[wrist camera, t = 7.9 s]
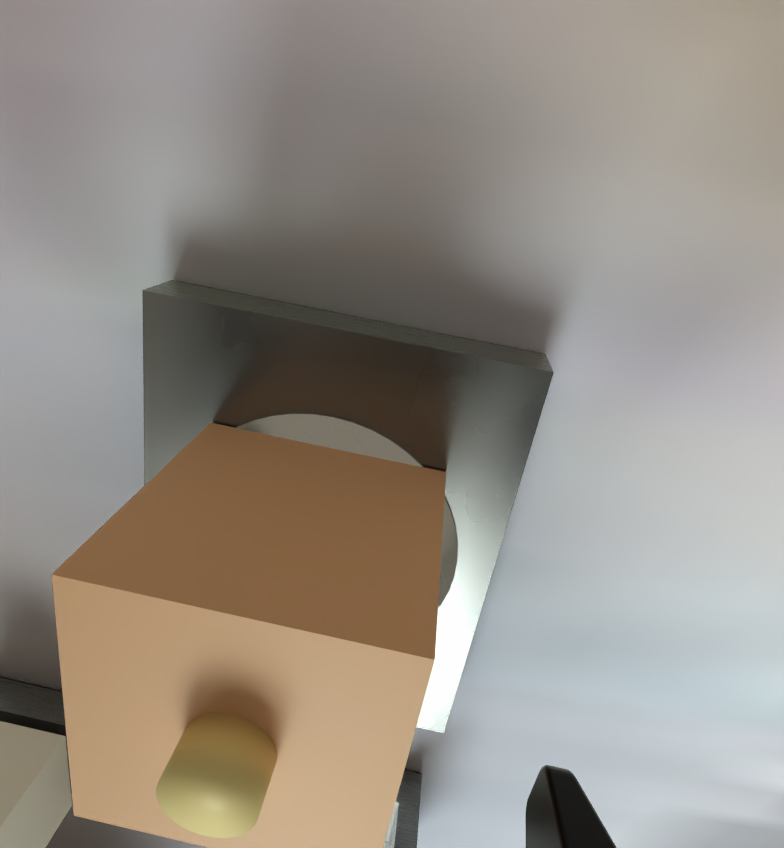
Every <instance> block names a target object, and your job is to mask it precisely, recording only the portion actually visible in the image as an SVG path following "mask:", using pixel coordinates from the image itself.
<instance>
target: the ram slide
mask: <svg viewBox="0 0 784 848" xmlns="http://www.w3.org/2000/svg"><path fill="white" fill-rule="evenodd" d="M71 806H72V799H71V789H70V779H69V768H68V758H67V748H66V737H65V736H63V735H58V734H54V733H50V732H45V731H41V730H37V729H32V728H28V727H24V726H20V725H15V724H11V723H7V722H2V721H0V848H46V846H47V845H48V843H49V841H50V840H51V838H52V837H53V835H54V833H55V832H56V830H57V829H58V827H59V825H60V824H61V822H62V821H63V819H64V817H65V816H66V814H67V813H68V811H69V809H70V808H71Z"/></svg>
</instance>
